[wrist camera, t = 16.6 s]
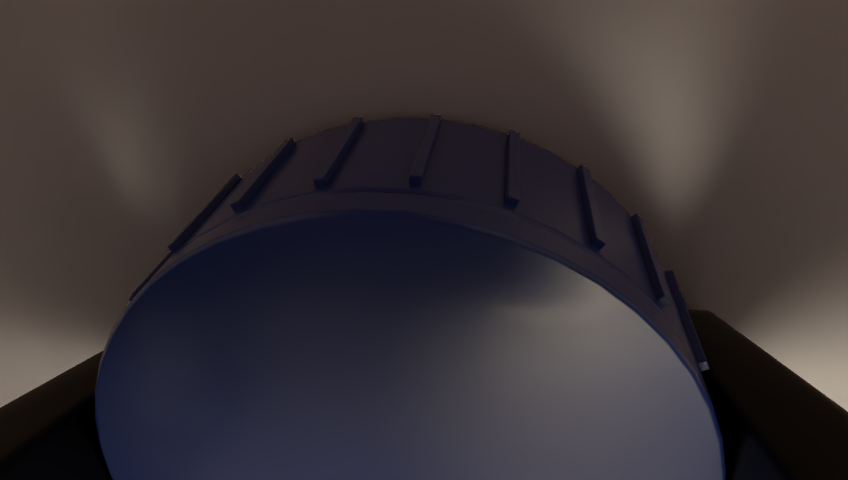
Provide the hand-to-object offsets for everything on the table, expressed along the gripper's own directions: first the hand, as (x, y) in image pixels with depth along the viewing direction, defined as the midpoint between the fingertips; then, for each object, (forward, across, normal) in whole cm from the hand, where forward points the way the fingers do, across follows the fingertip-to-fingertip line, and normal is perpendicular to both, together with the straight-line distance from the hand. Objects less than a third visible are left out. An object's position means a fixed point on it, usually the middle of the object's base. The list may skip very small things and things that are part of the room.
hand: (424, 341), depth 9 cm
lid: (-2, 0, 0) cm, 2 cm away
